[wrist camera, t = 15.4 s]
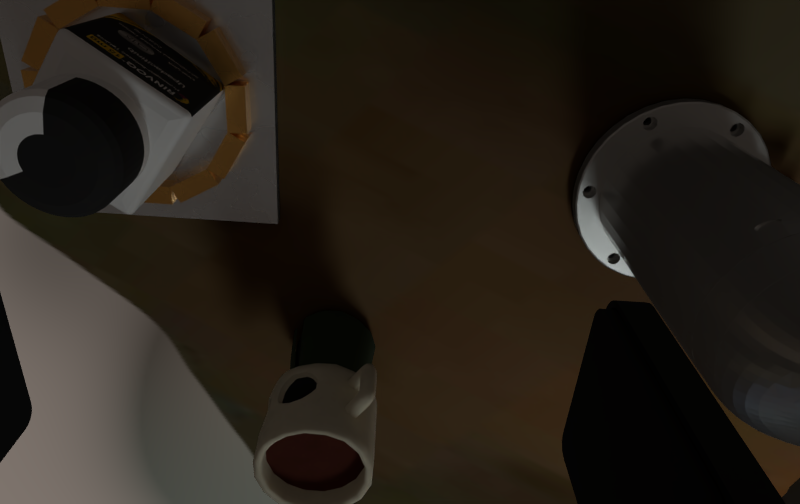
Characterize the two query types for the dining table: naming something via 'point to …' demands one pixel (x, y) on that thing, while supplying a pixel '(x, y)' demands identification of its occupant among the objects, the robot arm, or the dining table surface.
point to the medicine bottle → (102, 119)
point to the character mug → (321, 417)
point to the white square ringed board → (227, 122)
